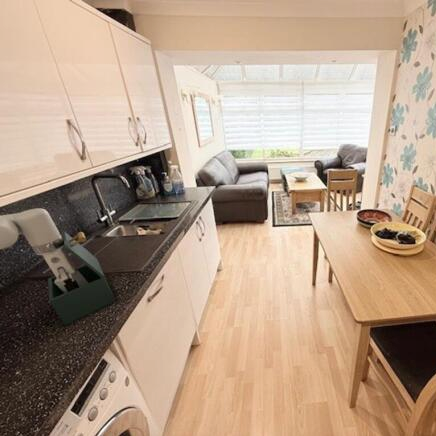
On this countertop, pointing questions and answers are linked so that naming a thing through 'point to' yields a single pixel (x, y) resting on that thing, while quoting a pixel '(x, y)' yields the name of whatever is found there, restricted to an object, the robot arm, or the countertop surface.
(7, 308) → the countertop surface
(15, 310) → the countertop surface
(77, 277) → the cosmetic box
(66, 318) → the chest
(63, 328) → the countertop surface
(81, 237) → the lid
